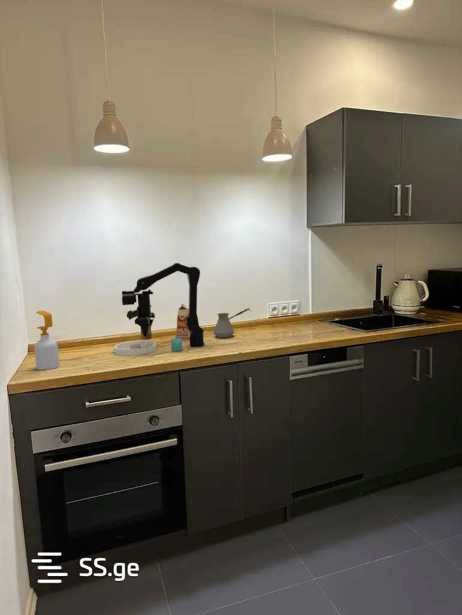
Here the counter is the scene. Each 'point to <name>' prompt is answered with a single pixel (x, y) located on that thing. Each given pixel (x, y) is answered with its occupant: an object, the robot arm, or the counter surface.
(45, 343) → the soap bottle
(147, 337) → the walnut bead
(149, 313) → the robot arm
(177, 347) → the teal bead
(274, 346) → the counter surface
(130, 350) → the dish
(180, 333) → the red figurine
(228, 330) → the coffee pot
